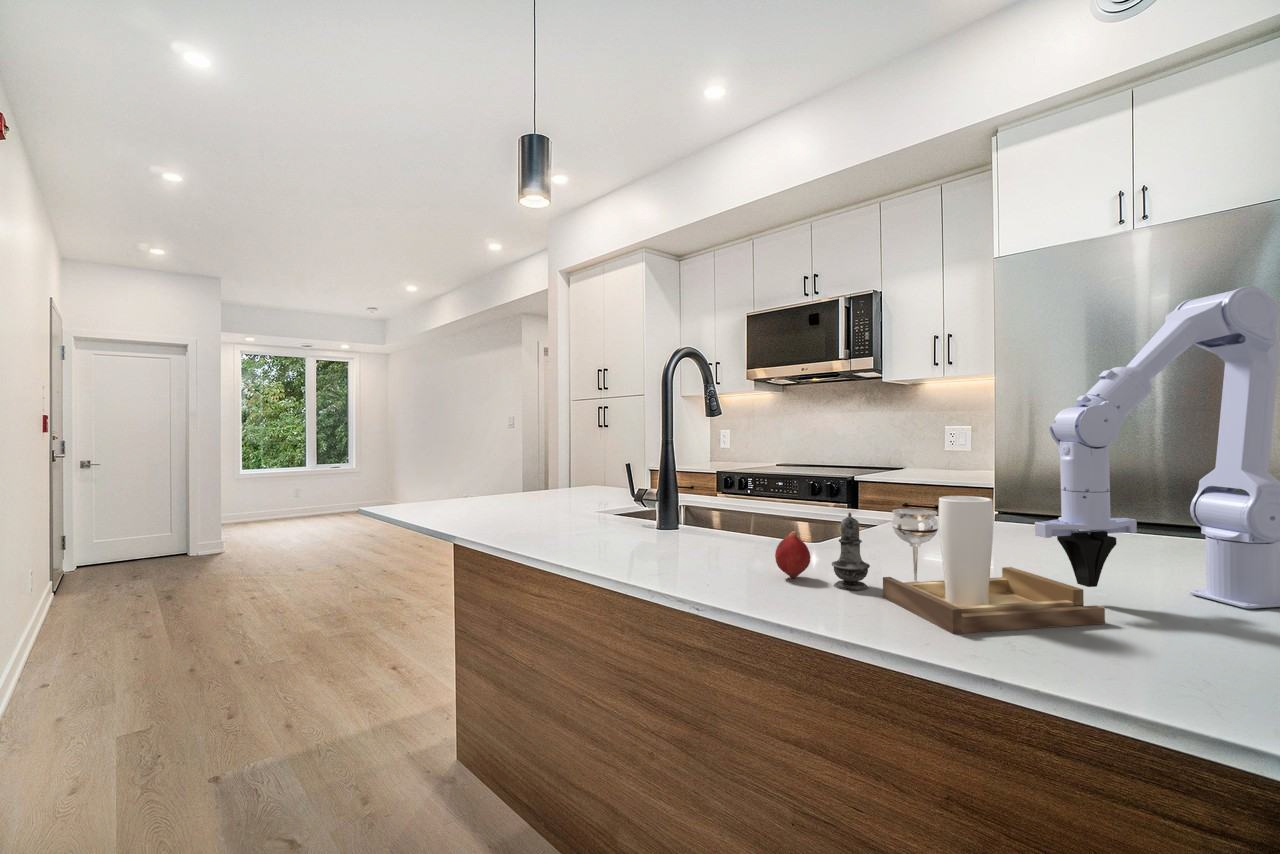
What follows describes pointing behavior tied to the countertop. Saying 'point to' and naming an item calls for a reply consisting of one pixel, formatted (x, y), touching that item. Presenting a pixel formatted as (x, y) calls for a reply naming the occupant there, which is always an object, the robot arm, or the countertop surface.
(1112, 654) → the countertop surface
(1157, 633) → the countertop surface
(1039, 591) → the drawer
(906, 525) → the wineglass
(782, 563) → the onion
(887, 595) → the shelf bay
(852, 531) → the salt shaker
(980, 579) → the drinking glass
